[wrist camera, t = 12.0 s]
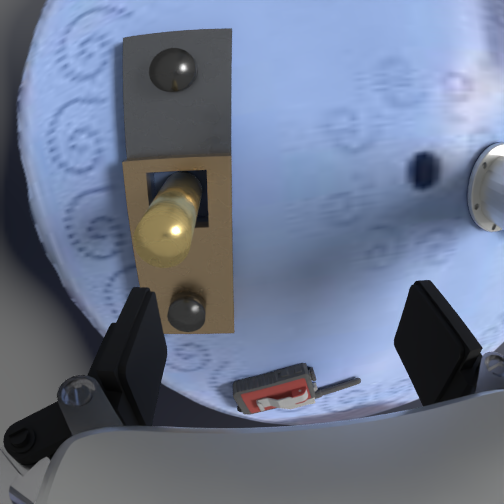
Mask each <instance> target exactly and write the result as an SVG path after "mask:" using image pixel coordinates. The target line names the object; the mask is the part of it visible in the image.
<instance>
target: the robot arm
mask: <svg viewBox="0 0 504 504" xmlns="http://www.w3.org/2000/svg"><path fill="white" fill-rule="evenodd" d="M468 206H469V211H470V214H471V216H472V219H473V220H474V221H475V223H476V224H477V225H478V226H479V227H481V228H482V229H484V230H486V231H489V232H497V231H500V230H502V229H503V230H504V143H503V142H500V143H495V144H493V145H491V146H489V147H488V148H487V149H485V150H484V152H483V153H482V154H481V155H480V157H479V158H478V160H477V161H476V163H475V165H474V168H473V170H472V173H471V176H470V180H469V185H468ZM394 346H395V348H396V350H397V352H398V354H399V356H400V358H401V360H402V362H403V365H404V367H405V369H406V371H407V373H408V375H409V377H410V379H411V381H412V383H413V385H414V388H415V390H416V392H417V394H418V396H419V398H420V400H421V403H422V405H423V407H418V408H414V409H409V410H404V411H400V412H394V413H389V414H383V415H378V416H372V417H366V418H359V419H352V420H345V421H337V422H329V423H320V424H310V425H298V426H285V427H267V428H179V427H160V426H152V423H153V418H154V413H155V408H156V403H157V399H158V394H159V389H160V385H161V380H162V376H163V371H164V367H165V362H166V358H167V346H166V342H165V337H164V333H163V328H162V323H161V318H160V314H159V309H158V303H157V298H156V294H155V292H151V291H150V288H148V287H134V288H133V289H132V290H131V292H130V294H129V297H128V299H127V301H126V303H125V305H124V307H123V309H122V311H121V314H120V316H119V318H118V320H117V322H116V323H112V324H111V325H110V326H109V328H108V330H107V333H106V335H105V337H104V339H103V341H102V343H101V346H100V348H99V350H98V353H97V355H96V357H95V359H94V362H93V364H92V366H91V368H90V371H89V373H88V375H76V376H73V377H70V378H68V379H67V380H65V381H64V382H63V383H62V384H61V386H60V387H59V389H58V392H57V399H58V401H57V402H55V403H53V404H51V405H50V406H48V407H46V408H44V409H42V410H40V411H38V412H36V413H34V414H32V415H30V416H28V417H26V418H24V419H22V420H20V421H18V422H16V423H14V424H13V425H11V426H10V427H9V428H8V430H7V431H6V433H5V435H4V441H3V442H4V445H3V446H2V447H1V448H0V504H34V503H35V504H504V355H502V354H500V353H497V352H488V353H485V354H484V355H483V356H482V355H481V353H480V352H481V350H482V347H481V345H480V344H479V342H478V341H477V340H476V338H475V337H474V335H473V334H472V333H471V331H470V330H469V329H468V327H467V326H466V325H465V323H464V322H463V321H462V319H461V318H460V317H459V315H458V314H457V313H456V312H455V310H454V309H453V308H452V307H451V305H450V304H449V303H448V301H447V300H446V299H445V298H444V296H443V295H442V294H441V293H440V292H439V290H438V289H437V288H436V287H435V285H434V284H433V283H432V282H431V281H430V280H422V281H416V282H415V283H414V285H411V287H410V289H409V293H408V297H407V300H406V303H405V307H404V310H403V313H402V316H401V320H400V323H399V326H398V329H397V332H396V335H395V338H394ZM35 501H36V502H35Z"/></svg>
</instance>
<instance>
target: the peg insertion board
mask: <svg viewBox="0 0 504 504" xmlns="http://www.w3.org/2000/svg"><path fill="white" fill-rule="evenodd" d="M231 61H232V29H200V30H184V31H172V32H162V33H153V34H145V35H138V36H131V37H125V38H123V101H124V123H125V140H126V153H127V159H126V160H124V161H123V162H122V164H123V174H124V184H125V193H126V201H127V209H128V217H129V224H130V231H131V238H132V244H133V250H134V256H135V262H136V268H137V274H138V279H139V284H140V287H148V288H150V291H151V292H155V294H156V298H157V303H158V309H159V314H160V318H161V323H162V328H163V333H164V334H214V333H234V301H233V254H232V170H231ZM188 170H207V192H208V216H198V217H197V219H196V223H195V228H194V232H193V237H192V241H191V246H190V250H189V253H188V255H187V257H186V258H185V259H184V260H183V261H182V262H181V263H180V264H178V265H176V266H173V267H169V268H159V267H155V266H152V265H150V264H148V263H146V262H145V261H144V260H143V259H141V257H140V256H139V255H138V254H137V252H136V250H135V247H134V243H133V235H134V231H135V229H136V227H137V225H138V223H139V222H140V220H141V219H142V217H143V215H144V214H145V212H146V211H147V209H148V208H149V206H150V205H151V203H152V201H153V200H154V198H155V187H154V174H153V172H167V171H188Z"/></svg>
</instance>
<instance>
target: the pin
mask: <svg viewBox="0 0 504 504" xmlns="http://www.w3.org/2000/svg"><path fill="white" fill-rule="evenodd" d="M201 197H202V185H201V183H200V181H199V180H198V178H197V177H196V176H194V175H193V174H191V173H188V172H177V173H175V174H173V175H171V176H170V177H169V178H168V179H167V180H166V182H165V183H164V185H163V186H162V188H161V189H160V191H159V192H158V194H157V195H156V197H155V198H154V200H153V201H152V203H151V205H150V206H149V208H148V209H147V211H146V212H145V214H144V215H143V217H142V219H141V220H140V222H139V223H138V225H137V227H136V229H135V231H134V235H133V243H134V247H135V250H136V252H137V254H138V255H139V256H140V257H141V259H143V260H144V261H145V262H146V263H148V264H150V265H152V266H155V267H159V268H169V267H173V266H176V265H178V264H180V263H181V262H182V261H183V260H184V259H185V258H186V257H187V255H188V253H189V250H190V246H191V241H192V237H193V232H194V228H195V223H196V219H197V214H198V210H199V206H200V201H201Z"/></svg>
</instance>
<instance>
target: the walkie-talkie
mask: <svg viewBox="0 0 504 504" xmlns="http://www.w3.org/2000/svg"><path fill="white" fill-rule="evenodd" d="M311 380H313V381H316V377H315V374H314V370H313V368H312V367H311V368H310V369H309V370H308V368H307V365H306V363H301V364H297V365H294V366H290V367H287V368H283V369H279V370H276V371H274V372H270V373H266V374H263V375H259V376H255V377H254V376H253V377H251V378H250V377H249V378H245V379H242V380H238V381H235V382H234V383H233V397H234V399H235V401H236V403H237V404H238V406H237V410H238V411H239V412H243V414H254V413H258V412H263V411H267V410H270V409H275V408H284V409H293V408H297V407H301V406H304V405H308V404H313V403H315V400H314V399H316V398H319V397H322V396H323V395H326V394H329V393H333V392H336V391H339V390H342V389H345V388H348V387H351V386H354V385H357V384H359V383H360V382H361V379H360V378H355V379H352V380H349V381H347V382H344V383H341V384H337V385H334V386H331V387H328V388H325V389H322V390H320V389H319V390H318V389H317V385H316V382H315V383H312V381H311Z"/></svg>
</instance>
